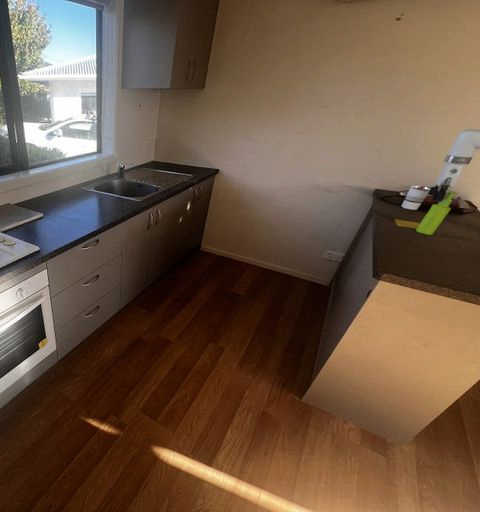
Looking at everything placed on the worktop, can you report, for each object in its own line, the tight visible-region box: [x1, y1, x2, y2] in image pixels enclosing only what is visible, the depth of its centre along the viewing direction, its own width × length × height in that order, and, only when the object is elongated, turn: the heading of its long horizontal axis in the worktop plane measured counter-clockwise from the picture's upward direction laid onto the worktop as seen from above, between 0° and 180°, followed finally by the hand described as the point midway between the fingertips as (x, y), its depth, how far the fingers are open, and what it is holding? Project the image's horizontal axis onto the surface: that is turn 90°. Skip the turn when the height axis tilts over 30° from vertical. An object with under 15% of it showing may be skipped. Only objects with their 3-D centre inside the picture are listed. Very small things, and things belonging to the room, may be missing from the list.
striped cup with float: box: [400, 185, 432, 211], centre depth 166 cm, size 10×8×12 cm
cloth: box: [394, 219, 421, 230], centre depth 147 cm, size 12×10×1 cm
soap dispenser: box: [415, 190, 457, 236], centre depth 134 cm, size 6×7×20 cm
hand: (435, 198), depth 135 cm, fingers open, 9 cm apart
